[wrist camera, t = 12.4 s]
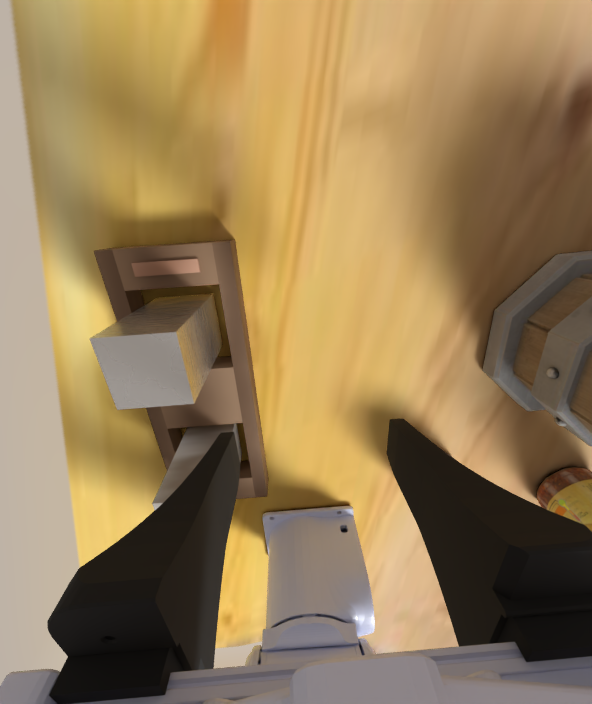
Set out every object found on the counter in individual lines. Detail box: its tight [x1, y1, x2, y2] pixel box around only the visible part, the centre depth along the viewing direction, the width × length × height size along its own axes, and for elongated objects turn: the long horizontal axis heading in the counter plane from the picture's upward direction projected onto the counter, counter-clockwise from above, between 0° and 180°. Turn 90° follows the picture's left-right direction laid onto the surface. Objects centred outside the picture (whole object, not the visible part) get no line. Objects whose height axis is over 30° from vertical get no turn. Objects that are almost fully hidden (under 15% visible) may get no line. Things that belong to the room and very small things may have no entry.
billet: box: [90, 293, 223, 410], centre depth 18 cm, size 4×4×8 cm
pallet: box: [94, 240, 268, 510], centre depth 20 cm, size 8×22×8 cm, turn 4°
